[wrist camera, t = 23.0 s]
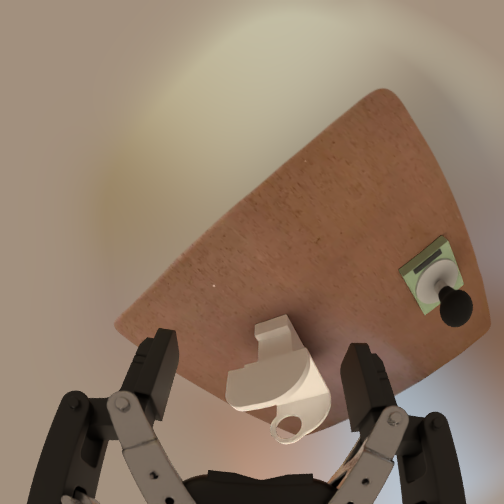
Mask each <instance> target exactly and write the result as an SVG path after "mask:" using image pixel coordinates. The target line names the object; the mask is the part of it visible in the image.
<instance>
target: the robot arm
mask: <svg viewBox="0 0 504 504" xmlns="http://www.w3.org/2000/svg"><path fill="white" fill-rule="evenodd" d="M178 362H179V349H178V342H177V336H176V331H175V330H169V329H162V328H159V329H158V330H157V333H156V335H155V337H154V338H148V337H147V338H146V339H145V340H144V341H143V342H142V343H141V344H140V345H139V347H138V349H137V352H136V355H135V356H134V358H133V362H132V363H131V365H130V368H129V370H128V372H127V375H126V377H125V379H124V382H123V384H122V387H121V389H120V390H119V391H118V392H115V393H113V394H112V395H111V396H110V397H108V398H88V397H87V396H86V395H85V394H84V393H83V392H81V391H71V392H68V393H67V394H65V395H64V397H63V398H62V400H61V403H60V405H59V407H58V410H57V412H56V415H55V417H54V420H53V422H52V425H51V428H50V430H49V433H48V435H47V438H46V441H45V444H44V446H43V450H42V452H41V455H40V459H39V462H38V465H37V468H36V471H35V475H34V478H33V482H32V485H31V489H30V493H29V497H28V502H27V504H100V503H99V502H98V501H97V500H95V494H96V490H97V486H98V481H99V477H100V472H101V468H102V464H103V460H104V456H105V452H106V448H107V444H108V441H109V440H119V441H120V443H121V446H122V449H123V450H122V453H123V456H124V459H125V461H126V463H127V465H128V467H129V469H130V472H131V474H132V475H133V478H134V480H135V481H136V484H137V485H138V487H139V489H140V491H141V493H142V495H143V497H144V498H145V500H146V502H147V504H373V503H374V501H375V499H376V498H377V496H378V494H379V493H380V491H381V489H382V487H383V485H384V484H385V482H386V480H387V478H388V476H389V474H390V472H391V470H392V468H393V466H394V461H393V457H394V455H397V462H398V469H399V476H400V484H401V493H402V503H403V504H466V499H465V493H464V487H463V482H462V476H461V472H460V467H459V462H458V458H457V454H456V450H455V446H454V442H453V438H452V435H451V431H450V428H449V424H448V421H447V419H446V417H445V416H444V415H443V414H441V413H439V412H431V413H429V414H428V415H427V416H426V417H425V418H424V417H416V416H410V415H408V414H407V413H406V411H405V410H404V409H402V408H401V407H398V406H397V403H396V400H395V397H394V394H393V391H392V388H391V385H390V382H389V379H388V376H387V373H386V372H385V367H384V364H383V361H382V360H381V359H380V358H379V357H378V355H377V354H376V353H375V354H371V352H370V349H369V346H368V344H367V343H351V344H350V346H349V348H348V350H347V353H346V355H345V357H344V359H343V361H342V364H341V369H340V374H341V379H342V384H343V389H344V394H345V399H346V404H347V410H348V415H349V420H350V426H351V432H358V431H359V432H360V437H359V439H358V440H357V442H356V444H355V445H354V447H353V448H352V450H351V452H350V453H349V455H348V456H347V458H346V459H345V461H344V462H343V464H342V465H341V467H340V468H339V469H338V470H337V472H336V473H335V474H334V475H333V476H332V477H331V479H330V480H329V481H328V483H326V482H324V481H321V480H318V479H314V478H313V474H292V475H284V476H280V477H275V478H270V479H265V480H258V479H254V478H250V477H247V476H243V475H240V474H237V473H231V472H221V471H213V470H208V474H207V475H199V476H195V477H192V478H189V479H187V480H185V481H182V479H181V478H180V476H179V474H178V473H177V471H176V470H175V468H174V466H173V465H172V463H171V461H170V460H169V458H168V456H167V454H166V453H165V451H164V449H163V447H162V445H161V443H160V442H159V440H158V438H157V436H156V434H155V432H154V430H153V424H154V421H155V420H158V421H162V419H163V415H164V412H165V408H166V404H167V401H168V397H169V394H170V390H171V387H172V383H173V380H174V376H175V373H176V369H177V366H178Z"/></svg>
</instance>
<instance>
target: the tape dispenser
mask: <svg viewBox="0 0 504 504" xmlns="http://www.w3.org/2000/svg"><path fill="white" fill-rule="evenodd" d="M255 337H256V339H257V340H258V342H259V344H258V362H254V363H251V364H247V365H244V368H241V369H237V370H233V371H228V379H227V386H226V394H225V397H226V400H227V402H228V403H229V404H230V405H231V406H232V407H233V408H234V409H236V410H238V411H250V410H255V409H261V408H266V407H270V406H274V405H277V416H276V417H275V419H274V420H273V421H272V423H271V426H270V433H271V435H272V437H273V438H274V439H275V440H276V441H277V442H280V443H282V444H291V443H294V442H297V441H298V440H300V439H301V438H302V437H303V436H304V435H305V434H308V433H309V432H311V431H313V430H314V429H316V428H317V427H318V426H319V425H320V424H321V423H322V422H323V421H324V419H325V418H326V416H327V415H328V412H329V410H330V406H331V395H330V391H329V389H328V387H327V385H326V383H325V381H324V379H323V378H322V376H321V374H320V372H319V370H318V368H317V366H316V364H315V363H314V361H313V359H312V357H311V355H310V353H309V351H308V349H307V348H305V347H304V346H303V344H302V342H301V340H300V338H299V336H298V335H297V333H296V331H295V329H294V327H293V325H292V323H291V322H290V320H289V318H288V316H287V314H285V315H282V316H279V317H276V318H273V319H270V320H267V321H264V322H261V323H258V324H255ZM288 416H296V417H299V418H300V419H301V421H302V427H301V429H300V431H299V432H298V433H297V434H296V435H295V436H294V437H291V438H280V437H279V436H278V435H277V432H276V428H277V425H278V423H279V422H280V421H281V420H282V419H284V418H286V417H288Z"/></svg>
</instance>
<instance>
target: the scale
mask: <svg viewBox="0 0 504 504" xmlns="http://www.w3.org/2000/svg"><path fill="white" fill-rule="evenodd" d="M399 272H400V274H401V275H402V277H403V279H404V280H405V282H406V284H407V285H408V287H409V289H410V290H411V292H412V294H413V296H414V297H415V299H416V301H417V303H418V305H419V306H420V308H421V310H422V311H423V313H424V315H426V314H427V313H428V312H430V311H431V310H432V309H434V308H435V307H436V306H438V305H439V304H440V301H439V297H438V295H437V293H436V292H435V290H434V287H435V285H436V283H437V282H438V281H441V280H444V281H445V282H446V284H447V285H448V286H450V287H452V288H453V289H455V290H458V289H459V288H460V287H461V286H462V285H464V283H463V280H462V277H461V274H460V271H459V268H458V266H457V263H456V260H455V257H454V255H453V252H452V250H451V247H450V245H449V242H448V240H447V239H445V238H444V237H443V236H442V235H441V236H440V237H439V238H438V239H436V240H435V241H434V242H433V243H432V244H430V245H429V246H428V247H427V248H426V249H424V250H423V251H422V252H421V253H419V254H418V255H417V256H416V257H414V258H413V259H412V260H411V261H409V262H408V263H407V264H405V265H404V266H403V267H401V268H400V269H399Z"/></svg>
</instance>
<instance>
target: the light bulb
mask: <svg viewBox="0 0 504 504" xmlns="http://www.w3.org/2000/svg"><path fill="white" fill-rule="evenodd" d="M434 290H435V292H436V293H437V295H438V297H439V301H440V304H441V305H440V315H441V318H442V320H443V321H444V322H445V323H446V324H447V325H448V326H451V327H459V326H462V325H464V324H465V323H466V322H467V321H468V320H469V318H470V316H471V314H472V310H473V304H472V300H471V298H470V296H469V295H468V294H467V293H466V292H465V291H462V290H455V289H453V288H452V287H450V286H448V285H447V284H446V282H445V281H444V280H441V281H438V282H437V283H436V285H435V287H434Z"/></svg>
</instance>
